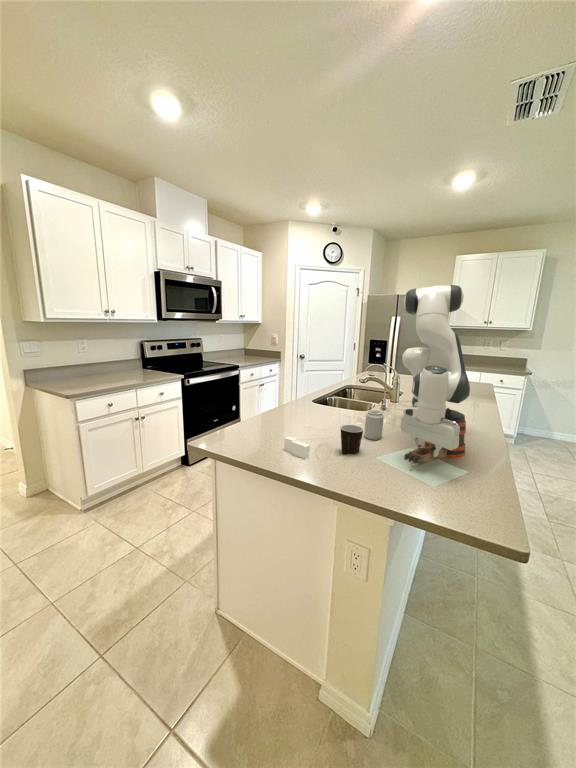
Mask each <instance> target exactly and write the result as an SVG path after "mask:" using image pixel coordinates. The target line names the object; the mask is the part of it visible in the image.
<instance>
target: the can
mask: <svg viewBox="0 0 576 768" xmlns="http://www.w3.org/2000/svg"><path fill="white" fill-rule="evenodd" d="M384 417H385V416H384V414H383V412H382V411H381V410H376V409H375V410H374V409H370V410H367V413H366V414H365V422H364V423H365V424H364V433H363V434H364V435H363V436H365V438H366V439H367V440H372V441H379V440H380V439H382V438H383V427H384V426H383V425H384Z"/></svg>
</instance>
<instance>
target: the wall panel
mask: <svg viewBox="0 0 576 768" xmlns="http://www.w3.org/2000/svg"><path fill="white" fill-rule="evenodd" d="M414 450H415V449H414V448H411V447H407V448H405V449H401V450H398V451H395V452H390V453H388V454H382V455H379V456H375V459H376V460H378V461H380V462H383V463H384V464H387V465H388V466H391V468H394V469H396V470H398V471H400V472H402V473H404V474H406V475H408V476H410V477H412V478H414V479H416V480H418V481H420V482H421V483H424V484H425V485H427V486H430V487H432V488H436V487H438V486H440V485H441V484H444V483H447V482H449V481H452V480H454V479H457V478H458V477H462V476H464V475H467V474H469V473H470V472H469V471H467V470H464V469H463V468H462V469H461V468H459V467H457V466H455V465H453V464H450V463H448V462H446V461H445V462H444V461H443V460H440V459H437V460H434V461H431V462H428V463H425V464H422V465H420V466H417V463H415V464H413V461H412V466H411V471H409V470H410V462H408V461H409V459H407V460H404V457H405V454H407V453H409V452H410V451H414Z"/></svg>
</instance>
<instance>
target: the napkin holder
mask: <svg viewBox="0 0 576 768" xmlns="http://www.w3.org/2000/svg"><path fill="white" fill-rule="evenodd" d="M283 441H284V442H283V450H284V449H285V450H284V451H287V450H288V451H287V452H289V451H290V454H291V455H293V454H294V456H296V457H298V456H299V457H298V458H301V457H302V458H301V459H303V458H304V459H305V460H306V458H307V459H308V457H309V458H310V450H311V449H310V447H311V446H310V445H311V444H308V443H306V442H305V443H304V442H303V441H299V440H298V438H295V437H292V436H289V435H288V436H286V437H284V440H283Z"/></svg>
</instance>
